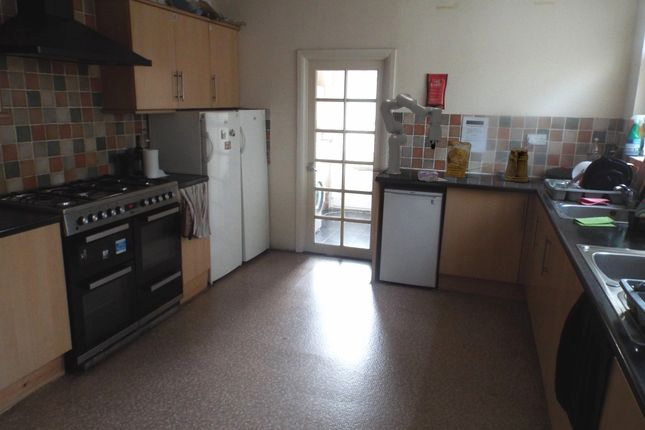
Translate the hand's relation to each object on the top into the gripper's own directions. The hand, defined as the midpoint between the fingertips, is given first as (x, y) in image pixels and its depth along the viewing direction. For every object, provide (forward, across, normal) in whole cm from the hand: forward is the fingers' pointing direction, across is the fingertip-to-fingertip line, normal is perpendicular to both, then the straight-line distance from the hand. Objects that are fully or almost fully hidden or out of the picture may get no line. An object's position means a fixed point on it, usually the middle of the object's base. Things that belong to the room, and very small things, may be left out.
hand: (432, 149), depth 365 cm
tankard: (+22, +64, -18) cm, 70 cm away
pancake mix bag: (+23, +26, +7) cm, 36 cm away
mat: (+23, 0, -4) cm, 23 cm away
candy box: (+20, 0, +5) cm, 20 cm away
